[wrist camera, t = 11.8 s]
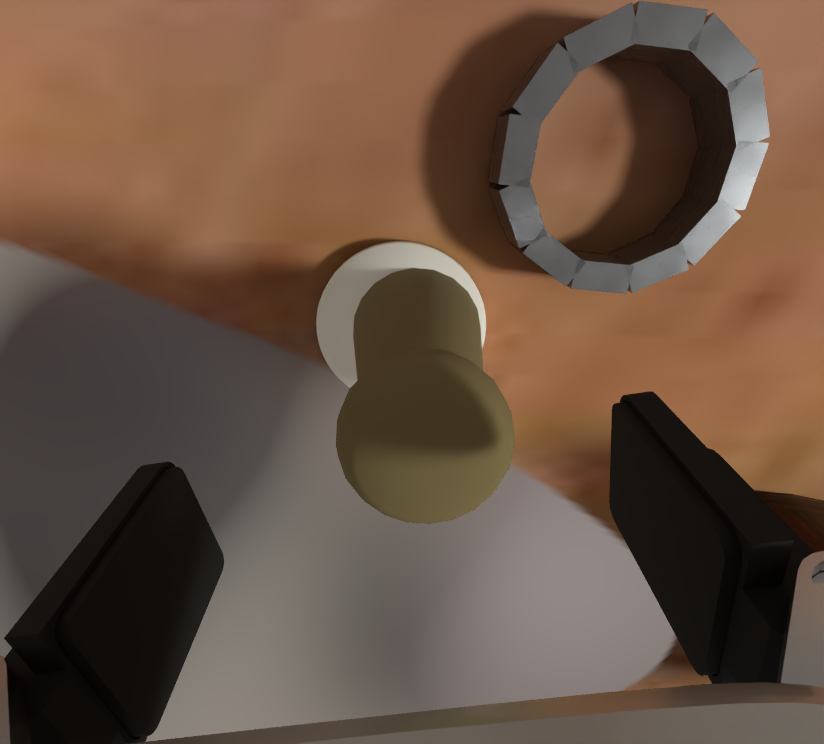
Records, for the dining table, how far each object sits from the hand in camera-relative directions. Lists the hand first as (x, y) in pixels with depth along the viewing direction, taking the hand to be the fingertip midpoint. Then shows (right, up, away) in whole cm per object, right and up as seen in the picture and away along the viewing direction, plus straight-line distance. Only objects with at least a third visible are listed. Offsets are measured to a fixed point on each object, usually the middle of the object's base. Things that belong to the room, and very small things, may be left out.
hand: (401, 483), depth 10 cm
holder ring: (+9, +11, +10) cm, 17 cm away
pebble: (0, +5, +13) cm, 14 cm away
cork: (0, +4, +12) cm, 13 cm away
